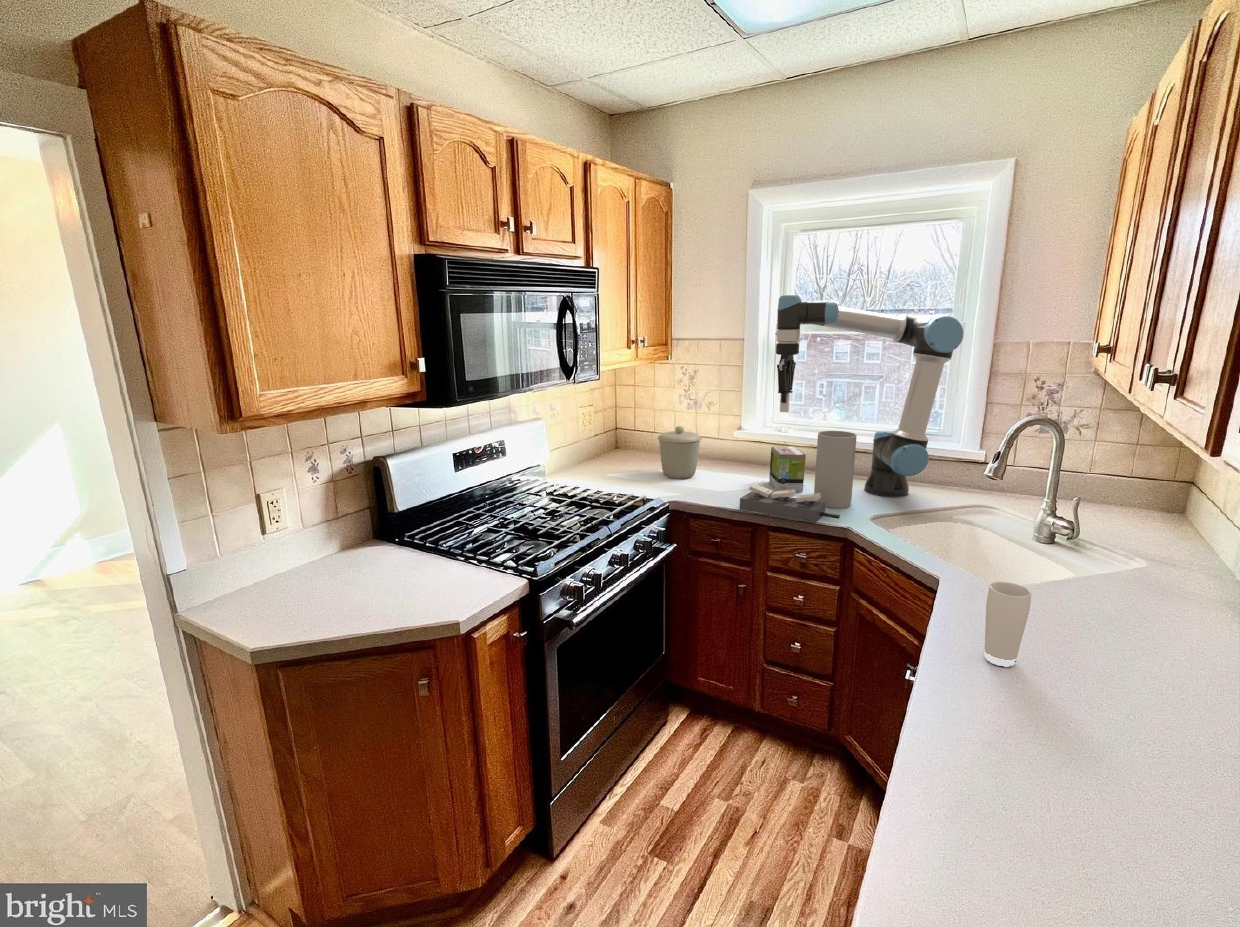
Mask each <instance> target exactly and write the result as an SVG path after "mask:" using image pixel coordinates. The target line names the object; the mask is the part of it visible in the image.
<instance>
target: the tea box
mask: <svg viewBox="0 0 1240 927" xmlns="http://www.w3.org/2000/svg"><path fill="white" fill-rule="evenodd" d="M806 455H807V454H806V453H804V452H803V451H802V450H801V449H799V448H798V447H796V446H771V447H770V464H769V477H768V478H769V481H768V482H769V483H770V485H772V486H773V487H774V489H775V491H784V490H796V493H802V492H803V491H804V481H805V471H806V458H807V456H806Z"/></svg>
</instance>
